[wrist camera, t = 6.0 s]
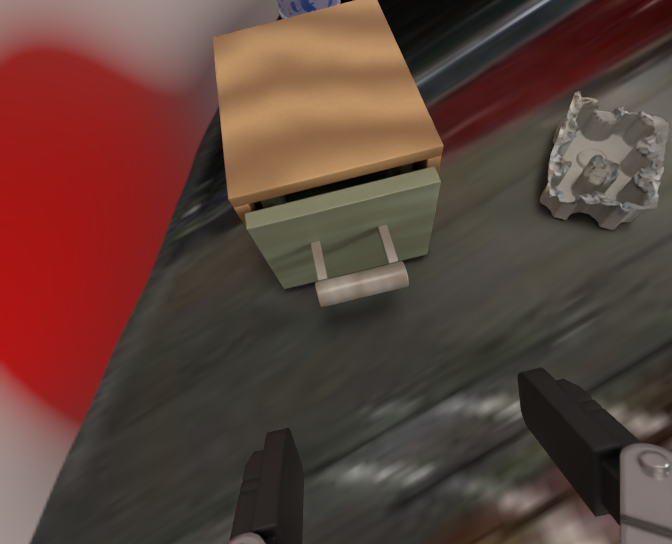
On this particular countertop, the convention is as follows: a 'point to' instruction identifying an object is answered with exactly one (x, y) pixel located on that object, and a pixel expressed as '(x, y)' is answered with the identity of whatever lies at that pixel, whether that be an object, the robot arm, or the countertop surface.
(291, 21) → the cabinet
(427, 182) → the drawer
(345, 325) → the countertop surface
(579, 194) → the egg carton
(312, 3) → the aerosol can
